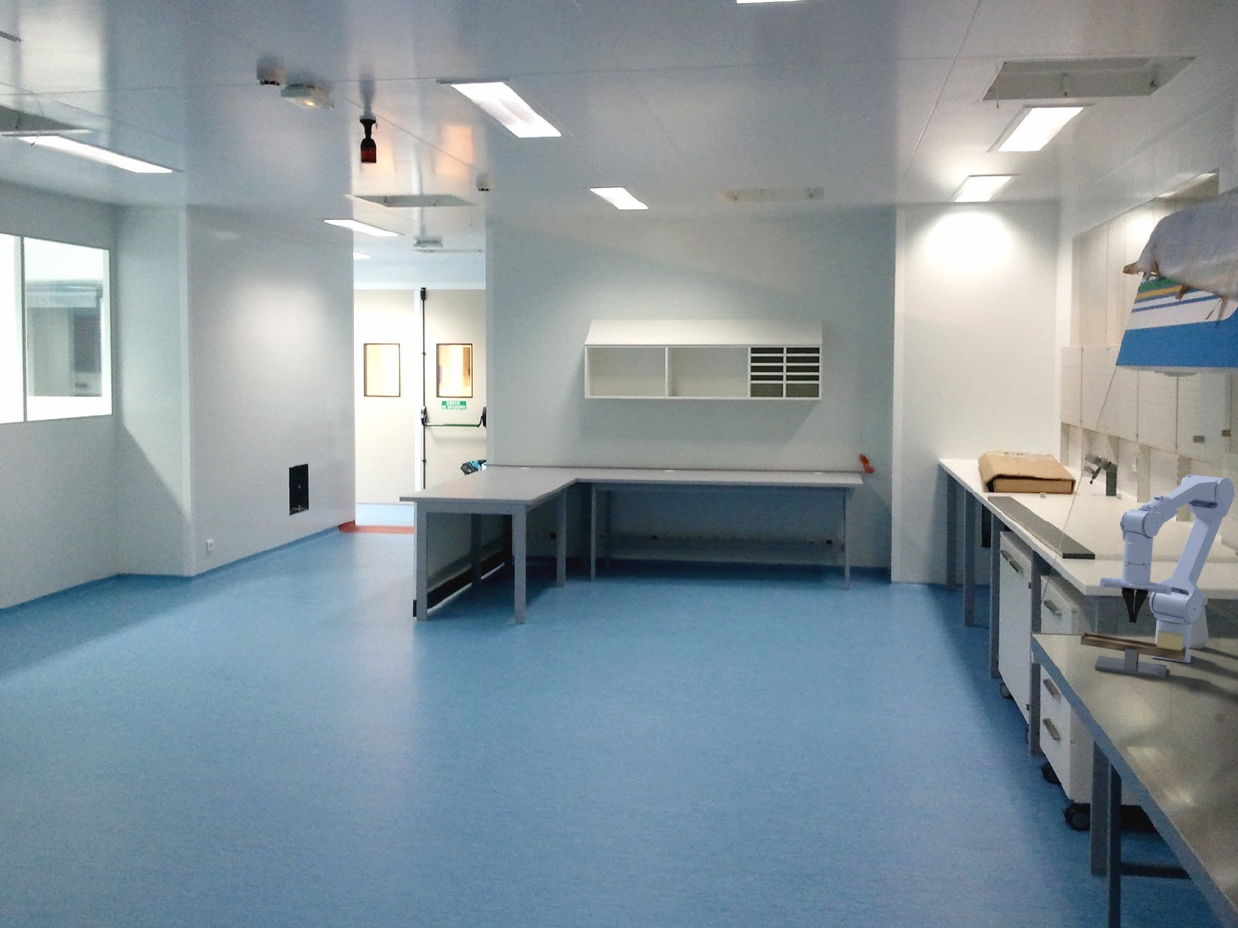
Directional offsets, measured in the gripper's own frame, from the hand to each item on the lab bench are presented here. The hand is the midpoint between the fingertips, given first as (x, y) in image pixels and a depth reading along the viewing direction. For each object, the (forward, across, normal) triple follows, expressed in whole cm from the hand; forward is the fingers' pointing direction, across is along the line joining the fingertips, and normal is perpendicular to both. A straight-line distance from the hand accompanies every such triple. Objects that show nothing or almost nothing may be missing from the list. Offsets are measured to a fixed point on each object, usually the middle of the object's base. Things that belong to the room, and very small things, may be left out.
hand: (1132, 621), depth 244 cm
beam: (+6, 0, -4) cm, 7 cm away
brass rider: (+5, +8, -4) cm, 10 cm away
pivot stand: (+10, 0, -4) cm, 11 cm away
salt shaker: (+10, +12, +28) cm, 32 cm away
